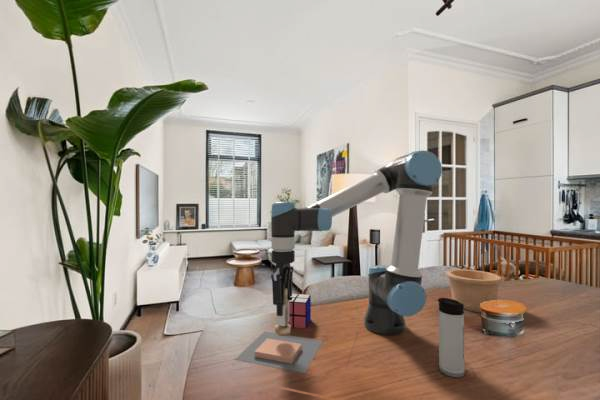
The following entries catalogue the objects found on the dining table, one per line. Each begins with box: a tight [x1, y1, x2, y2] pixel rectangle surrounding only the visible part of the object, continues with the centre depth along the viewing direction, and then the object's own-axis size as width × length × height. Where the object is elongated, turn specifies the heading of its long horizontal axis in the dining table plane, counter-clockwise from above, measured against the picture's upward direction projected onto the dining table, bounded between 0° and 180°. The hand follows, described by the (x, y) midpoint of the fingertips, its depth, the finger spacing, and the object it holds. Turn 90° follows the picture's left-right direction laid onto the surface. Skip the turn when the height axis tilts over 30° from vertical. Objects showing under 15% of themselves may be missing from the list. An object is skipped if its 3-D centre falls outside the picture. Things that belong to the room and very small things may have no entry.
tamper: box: [274, 288, 292, 336], centre depth 93 cm, size 5×5×14 cm
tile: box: [255, 338, 302, 364], centre depth 90 cm, size 12×2×9 cm
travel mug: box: [437, 297, 466, 378], centre depth 81 cm, size 6×7×20 cm
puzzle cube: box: [288, 293, 312, 329], centre depth 114 cm, size 10×10×10 cm
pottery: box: [445, 268, 503, 313], centre depth 133 cm, size 22×22×14 cm
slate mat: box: [234, 331, 324, 374], centre depth 92 cm, size 22×20×1 cm
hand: (283, 322), depth 93 cm, fingers closed on tamper, 3 cm apart
